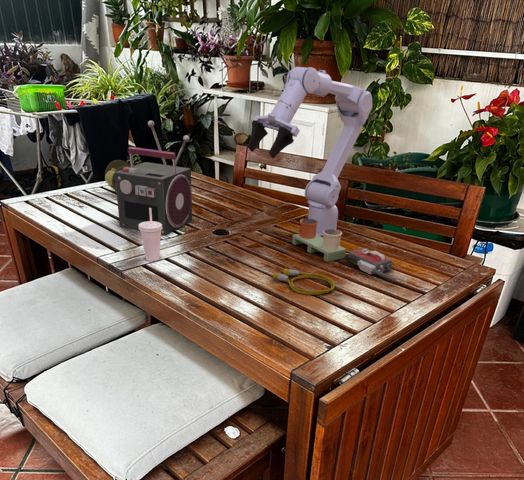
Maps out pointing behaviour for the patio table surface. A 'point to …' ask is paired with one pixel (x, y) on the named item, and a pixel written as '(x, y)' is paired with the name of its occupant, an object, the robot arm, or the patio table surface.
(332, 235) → the cream pot
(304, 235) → the terracotta pot
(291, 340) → the patio table surface
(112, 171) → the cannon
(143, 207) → the boombox
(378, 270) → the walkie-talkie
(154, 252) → the smoothie
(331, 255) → the sage green baseplate
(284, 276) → the extension cord
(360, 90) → the robot arm
